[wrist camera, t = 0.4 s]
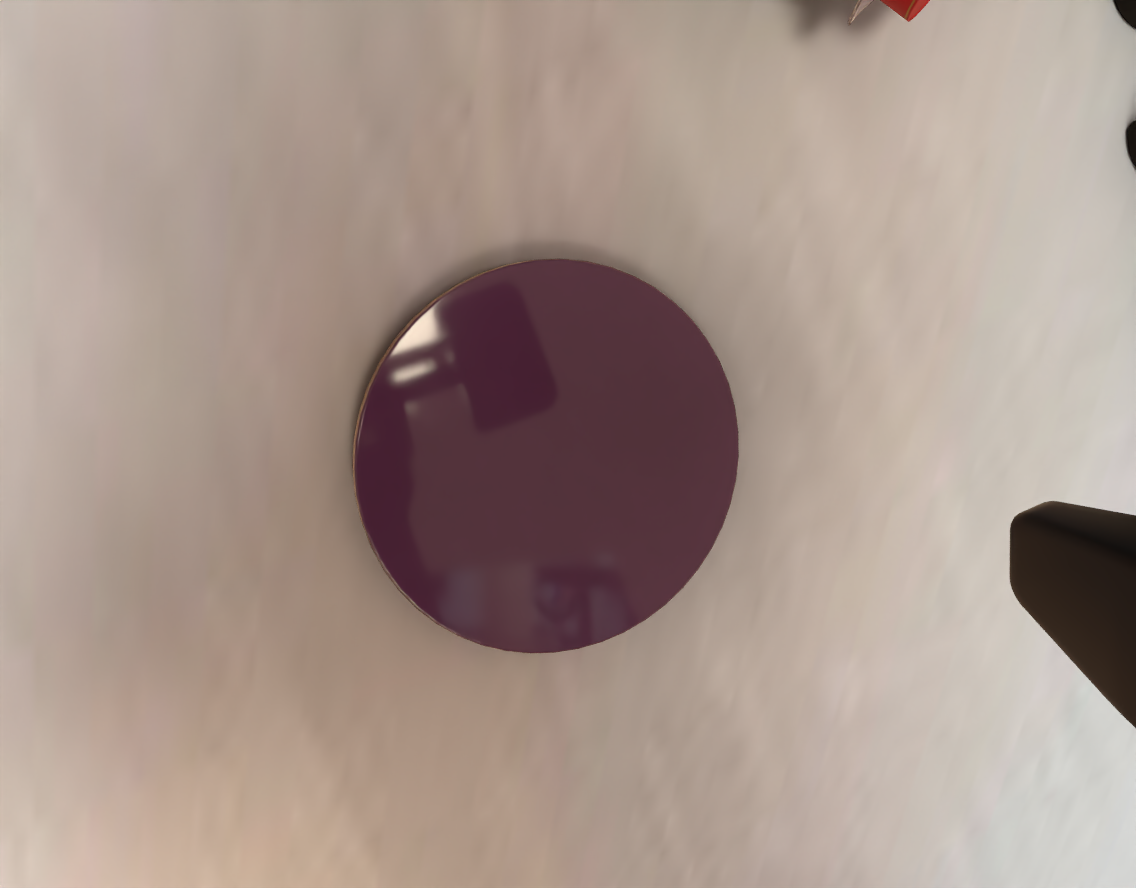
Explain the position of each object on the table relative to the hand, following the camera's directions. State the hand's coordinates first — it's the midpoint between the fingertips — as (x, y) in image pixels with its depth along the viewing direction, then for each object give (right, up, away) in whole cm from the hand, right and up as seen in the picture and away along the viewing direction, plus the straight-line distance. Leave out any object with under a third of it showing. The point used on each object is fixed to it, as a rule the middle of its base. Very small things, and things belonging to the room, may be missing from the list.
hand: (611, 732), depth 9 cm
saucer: (-1, +2, +16) cm, 16 cm away
